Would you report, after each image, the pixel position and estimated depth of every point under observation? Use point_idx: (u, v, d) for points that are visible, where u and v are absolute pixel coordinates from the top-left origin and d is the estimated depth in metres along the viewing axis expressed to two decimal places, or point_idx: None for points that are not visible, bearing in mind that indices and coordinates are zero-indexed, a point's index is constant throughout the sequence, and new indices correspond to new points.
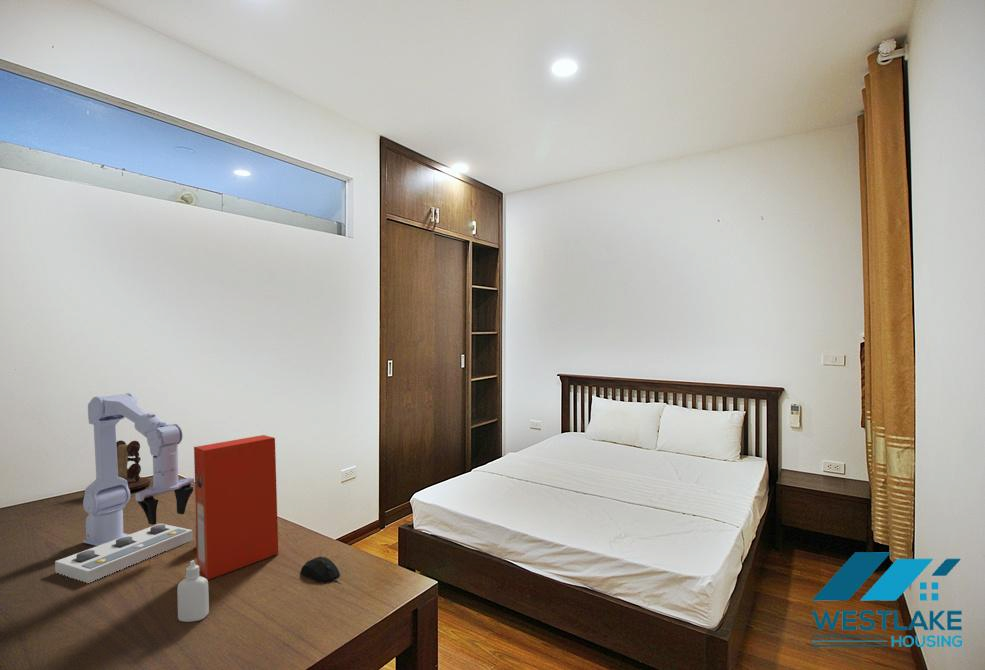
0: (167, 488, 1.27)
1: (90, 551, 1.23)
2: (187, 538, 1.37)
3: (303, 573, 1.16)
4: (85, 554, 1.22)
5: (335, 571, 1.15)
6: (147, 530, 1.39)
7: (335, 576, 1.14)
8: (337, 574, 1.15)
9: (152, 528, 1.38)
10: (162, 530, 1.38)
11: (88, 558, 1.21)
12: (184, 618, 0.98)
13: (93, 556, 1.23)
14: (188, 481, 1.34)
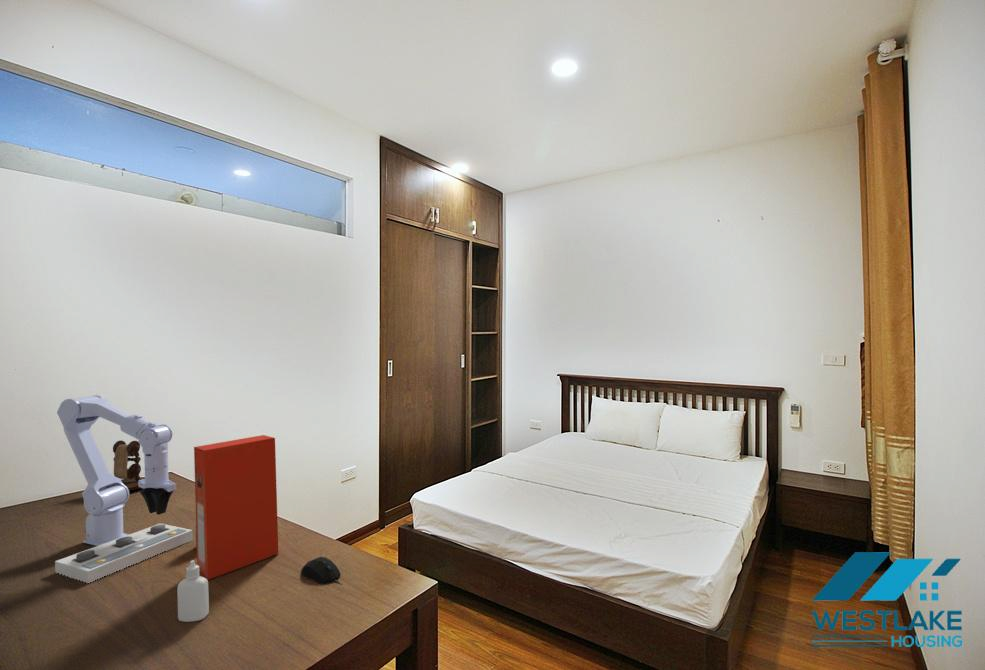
0: (144, 484, 1.37)
1: (90, 551, 1.23)
2: (187, 538, 1.37)
3: (304, 574, 1.16)
4: (85, 554, 1.22)
5: (336, 571, 1.15)
6: (147, 530, 1.39)
7: (336, 577, 1.13)
8: (338, 575, 1.14)
9: (152, 528, 1.38)
10: (162, 530, 1.38)
11: (88, 558, 1.21)
12: (184, 618, 0.98)
13: (93, 556, 1.23)
14: (164, 486, 1.36)
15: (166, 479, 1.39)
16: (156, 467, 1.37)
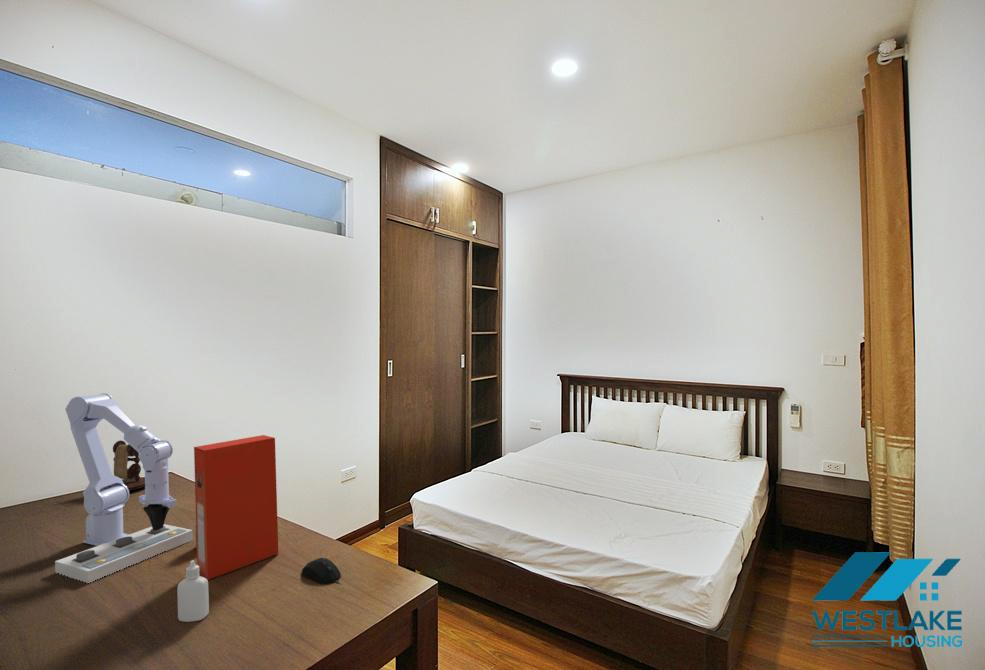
0: (144, 500, 1.37)
1: (90, 551, 1.23)
2: (187, 538, 1.37)
3: (304, 575, 1.15)
4: (85, 554, 1.22)
5: (337, 572, 1.15)
6: (147, 530, 1.39)
7: (336, 577, 1.13)
8: (338, 575, 1.14)
9: (152, 530, 1.38)
10: None
11: (88, 558, 1.21)
12: (184, 618, 0.98)
13: (93, 556, 1.23)
14: (164, 502, 1.36)
15: (166, 495, 1.39)
16: (156, 483, 1.37)
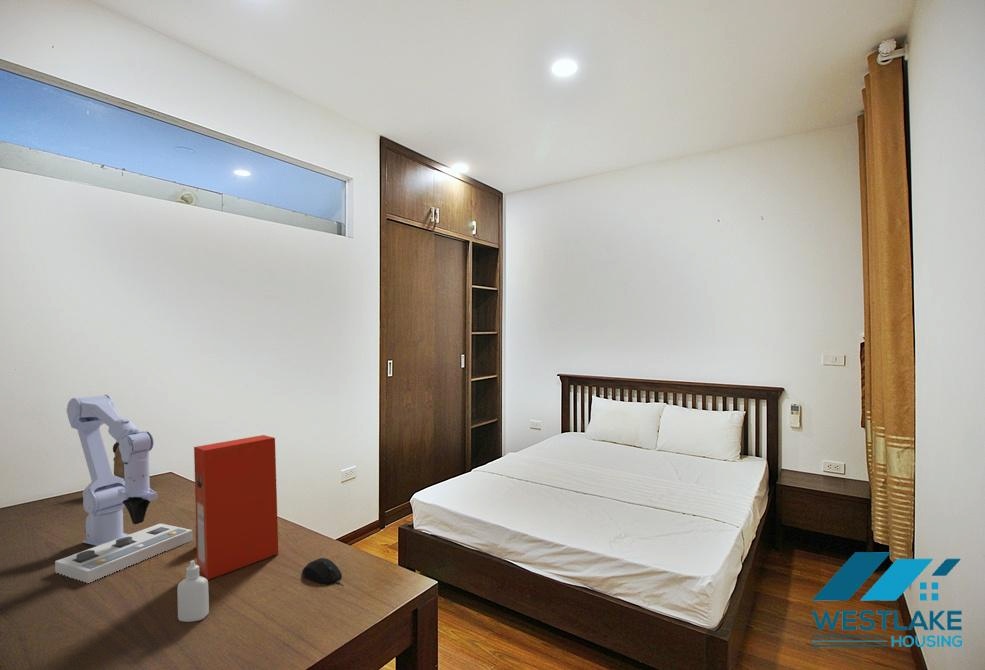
0: (124, 493, 1.32)
1: (90, 551, 1.23)
2: (187, 538, 1.37)
3: (305, 575, 1.15)
4: (85, 554, 1.22)
5: (338, 572, 1.14)
6: (147, 530, 1.39)
7: (337, 578, 1.13)
8: (339, 576, 1.14)
9: (152, 532, 1.38)
10: None
11: (88, 558, 1.21)
12: (184, 618, 0.98)
13: (93, 556, 1.23)
14: (144, 495, 1.31)
15: (147, 488, 1.34)
16: (132, 476, 1.31)
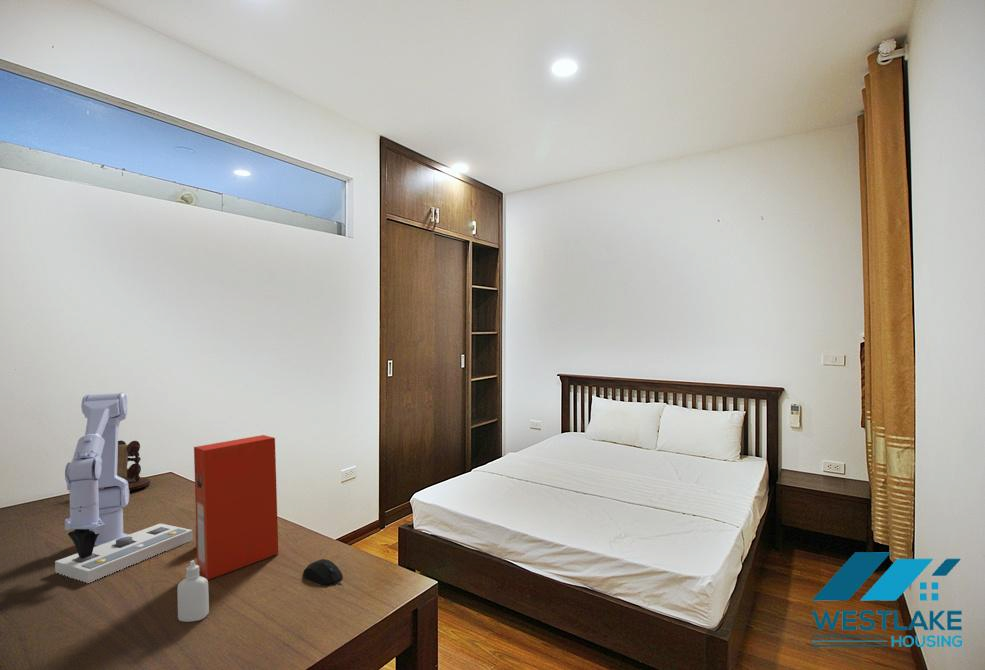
0: (69, 525, 1.20)
1: None
2: (187, 538, 1.37)
3: (305, 576, 1.15)
4: None
5: (339, 573, 1.14)
6: (147, 530, 1.39)
7: (338, 579, 1.12)
8: (340, 577, 1.13)
9: (152, 532, 1.38)
10: None
11: None
12: (184, 618, 0.98)
13: None
14: (91, 527, 1.19)
15: (95, 518, 1.22)
16: (71, 506, 1.20)
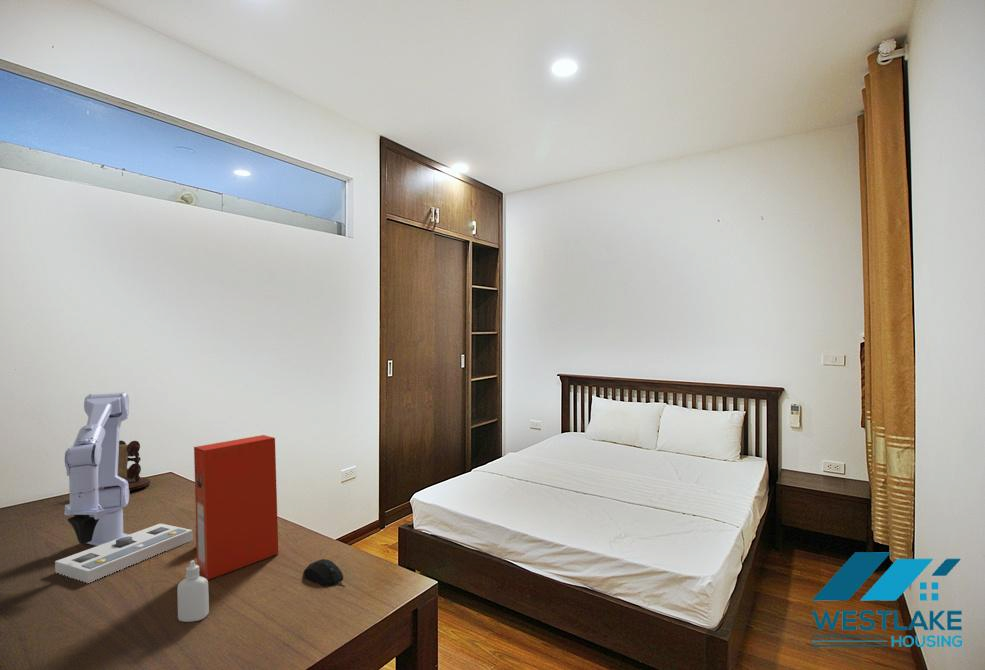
0: (69, 510, 1.20)
1: (90, 555, 1.23)
2: (187, 538, 1.37)
3: (306, 576, 1.14)
4: (85, 558, 1.22)
5: (339, 573, 1.14)
6: (147, 530, 1.39)
7: (339, 579, 1.12)
8: (341, 577, 1.13)
9: (152, 532, 1.38)
10: None
11: None
12: (184, 618, 0.98)
13: None
14: (90, 513, 1.19)
15: (95, 504, 1.22)
16: (71, 492, 1.20)
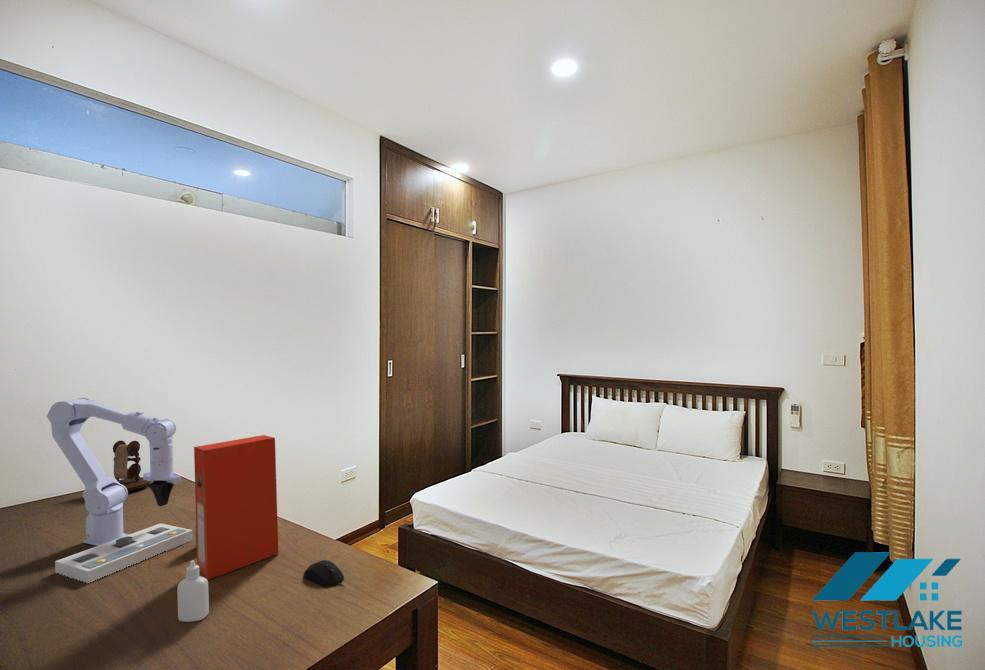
0: (149, 477, 1.41)
1: (90, 555, 1.23)
2: (187, 538, 1.37)
3: (306, 577, 1.14)
4: (85, 558, 1.22)
5: (340, 574, 1.13)
6: (147, 530, 1.39)
7: (339, 580, 1.12)
8: (341, 578, 1.13)
9: (152, 532, 1.38)
10: None
11: None
12: (184, 618, 0.98)
13: None
14: (169, 478, 1.39)
15: (171, 472, 1.43)
16: (164, 460, 1.41)
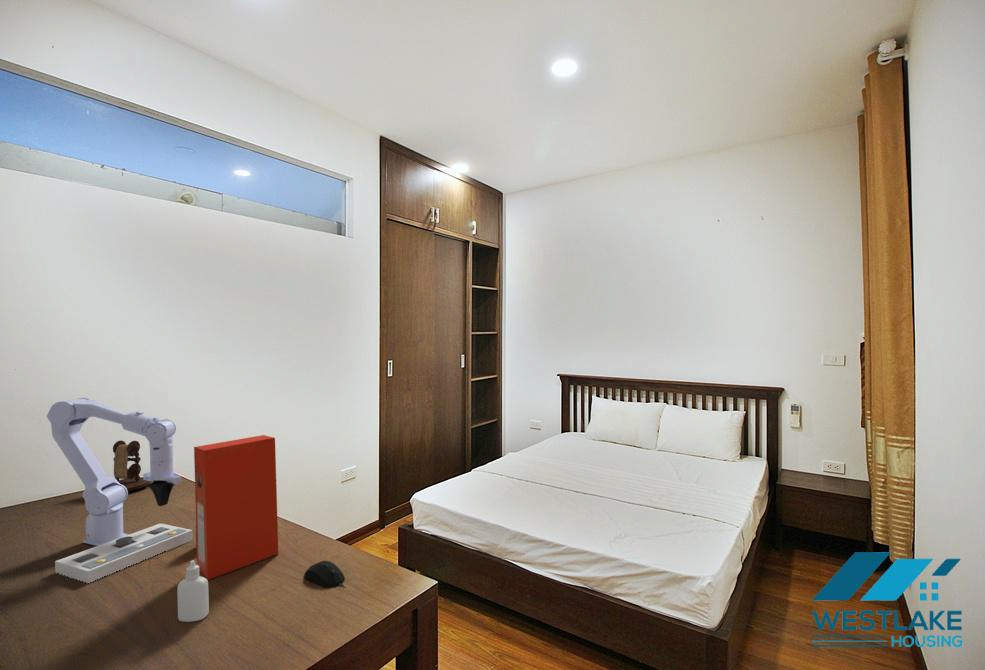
0: (149, 477, 1.41)
1: (90, 555, 1.23)
2: (187, 538, 1.37)
3: (307, 578, 1.14)
4: (85, 558, 1.22)
5: (340, 575, 1.13)
6: (147, 530, 1.39)
7: (340, 580, 1.12)
8: (342, 578, 1.13)
9: (152, 532, 1.38)
10: None
11: None
12: (184, 618, 0.98)
13: None
14: (169, 478, 1.39)
15: (171, 472, 1.43)
16: (164, 460, 1.41)
